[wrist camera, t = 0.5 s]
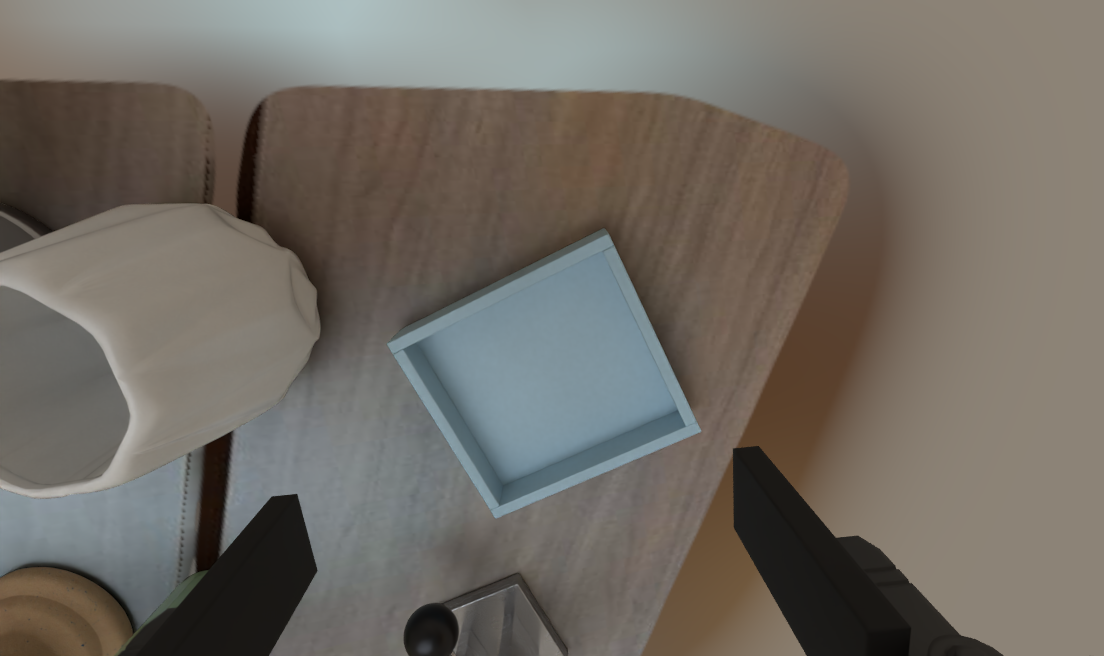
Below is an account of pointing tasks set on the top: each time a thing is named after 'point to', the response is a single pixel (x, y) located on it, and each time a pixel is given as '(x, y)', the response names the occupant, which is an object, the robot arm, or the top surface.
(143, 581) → the top surface
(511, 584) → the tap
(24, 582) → the candle holder
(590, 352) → the tray
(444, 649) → the tap lever
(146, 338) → the vase
